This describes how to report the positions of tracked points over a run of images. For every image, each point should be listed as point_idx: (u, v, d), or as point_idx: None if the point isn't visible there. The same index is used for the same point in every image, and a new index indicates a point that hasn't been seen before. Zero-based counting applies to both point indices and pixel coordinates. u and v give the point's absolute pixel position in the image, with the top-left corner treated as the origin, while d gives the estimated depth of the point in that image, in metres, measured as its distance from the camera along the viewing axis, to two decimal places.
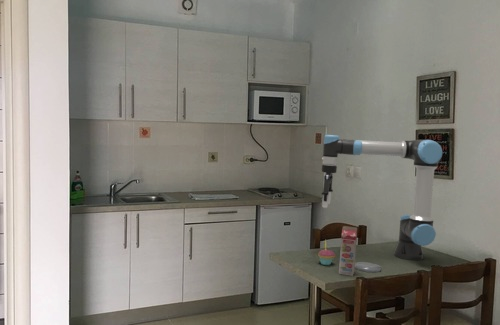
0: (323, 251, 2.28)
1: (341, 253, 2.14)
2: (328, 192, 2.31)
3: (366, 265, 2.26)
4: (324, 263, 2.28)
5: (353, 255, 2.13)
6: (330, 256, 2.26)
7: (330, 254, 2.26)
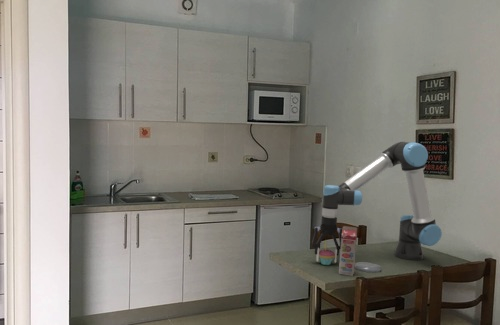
0: (323, 251, 2.28)
1: (341, 253, 2.14)
2: (318, 245, 2.28)
3: (366, 265, 2.26)
4: (324, 263, 2.28)
5: (353, 255, 2.13)
6: (330, 256, 2.26)
7: (330, 254, 2.26)
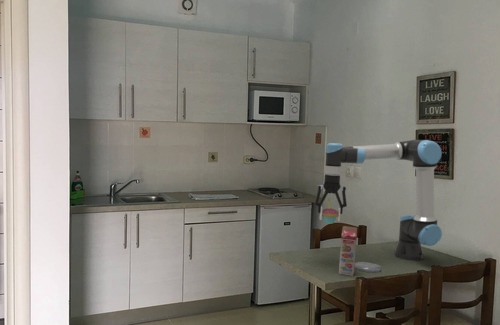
0: (326, 209, 2.27)
1: (341, 253, 2.14)
2: None
3: (366, 265, 2.26)
4: (327, 221, 2.26)
5: (353, 255, 2.13)
6: (333, 214, 2.24)
7: (333, 212, 2.25)
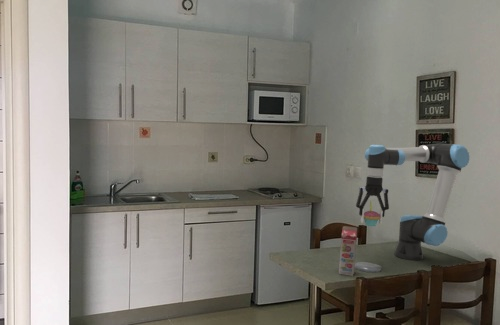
0: (368, 212, 2.23)
1: (341, 253, 2.14)
2: (363, 206, 2.23)
3: (366, 265, 2.26)
4: (369, 224, 2.23)
5: (353, 255, 2.13)
6: (376, 217, 2.21)
7: (376, 215, 2.21)
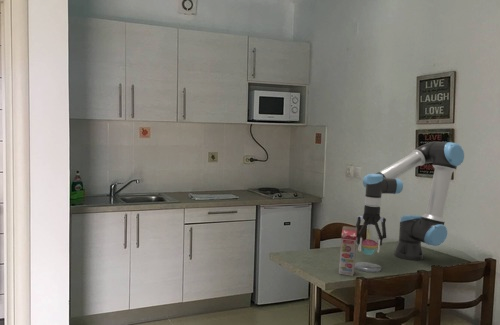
0: (366, 241, 2.24)
1: (341, 253, 2.14)
2: None
3: (366, 265, 2.26)
4: (367, 253, 2.24)
5: (353, 255, 2.13)
6: (373, 246, 2.22)
7: (373, 244, 2.22)
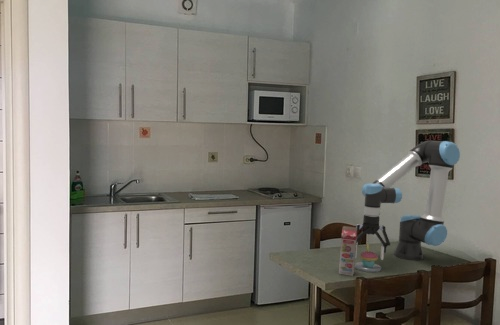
0: (366, 253, 2.25)
1: (341, 253, 2.14)
2: None
3: None
4: (367, 265, 2.24)
5: (353, 255, 2.13)
6: (373, 258, 2.22)
7: (373, 256, 2.23)
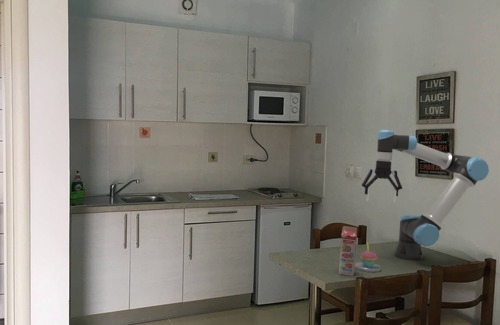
0: (366, 253, 2.25)
1: (341, 253, 2.14)
2: None
3: None
4: (367, 265, 2.24)
5: (353, 255, 2.13)
6: (373, 258, 2.22)
7: (373, 256, 2.23)
